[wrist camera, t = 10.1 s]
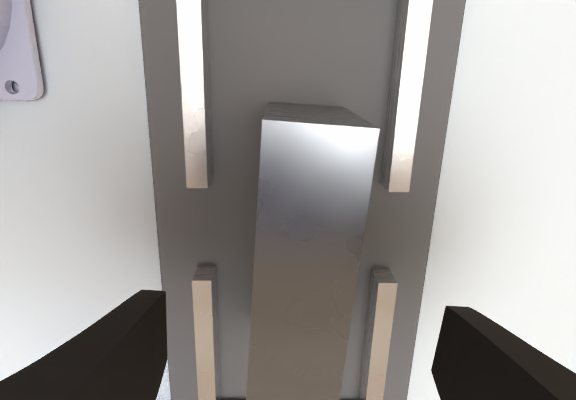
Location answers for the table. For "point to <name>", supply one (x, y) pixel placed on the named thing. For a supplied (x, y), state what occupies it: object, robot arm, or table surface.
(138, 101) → the table surface
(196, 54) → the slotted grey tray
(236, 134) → the grey slide base plate
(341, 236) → the dark gray rectangular chunk
